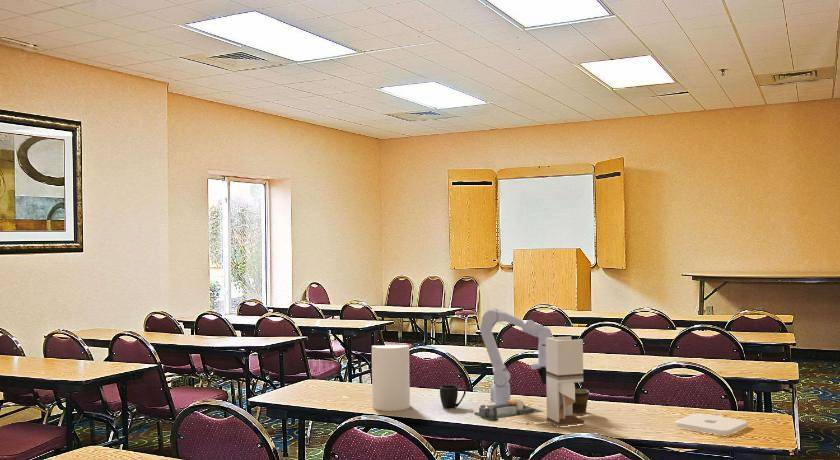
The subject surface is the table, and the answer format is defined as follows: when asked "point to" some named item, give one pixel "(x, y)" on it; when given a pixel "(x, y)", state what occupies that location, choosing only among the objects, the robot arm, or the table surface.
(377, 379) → the cylinder
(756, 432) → the table surface
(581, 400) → the ceramic cup
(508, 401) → the block
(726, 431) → the computer
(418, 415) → the table surface
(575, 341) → the coffee maker
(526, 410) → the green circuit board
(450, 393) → the mug
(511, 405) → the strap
